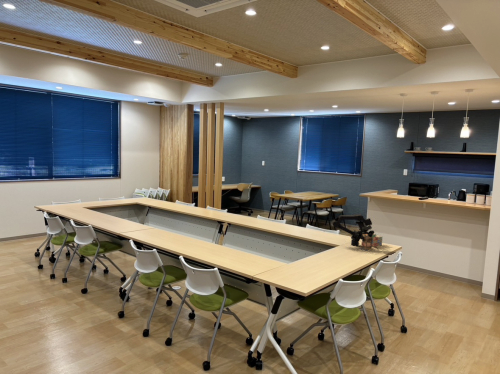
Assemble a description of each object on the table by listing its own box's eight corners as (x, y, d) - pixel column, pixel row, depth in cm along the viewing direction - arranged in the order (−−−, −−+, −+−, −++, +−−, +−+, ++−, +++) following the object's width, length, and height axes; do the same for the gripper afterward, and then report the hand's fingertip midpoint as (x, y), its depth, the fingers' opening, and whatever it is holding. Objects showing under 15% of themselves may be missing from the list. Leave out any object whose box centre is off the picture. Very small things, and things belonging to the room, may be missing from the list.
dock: (359, 250, 330) (359, 248, 329) (364, 247, 339) (364, 246, 339) (368, 252, 324) (368, 250, 324) (373, 249, 333) (373, 248, 333)
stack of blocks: (377, 243, 358) (378, 232, 356) (381, 245, 352) (383, 233, 351) (361, 245, 348) (362, 233, 347) (365, 247, 343) (367, 234, 341)
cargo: (363, 246, 332) (363, 242, 332) (366, 246, 334) (367, 242, 334) (366, 247, 329) (366, 243, 328) (369, 247, 330) (370, 243, 330)
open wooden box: (361, 247, 333) (362, 236, 332) (366, 247, 335) (367, 236, 335) (366, 249, 327) (366, 237, 327) (371, 249, 330) (372, 237, 329)
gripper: (358, 222, 329) (364, 237, 320) (374, 222, 336) (381, 236, 327) (352, 228, 337) (358, 243, 328) (367, 228, 344) (374, 242, 335)
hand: (368, 241), depth 329 cm, fingers open, 9 cm apart
